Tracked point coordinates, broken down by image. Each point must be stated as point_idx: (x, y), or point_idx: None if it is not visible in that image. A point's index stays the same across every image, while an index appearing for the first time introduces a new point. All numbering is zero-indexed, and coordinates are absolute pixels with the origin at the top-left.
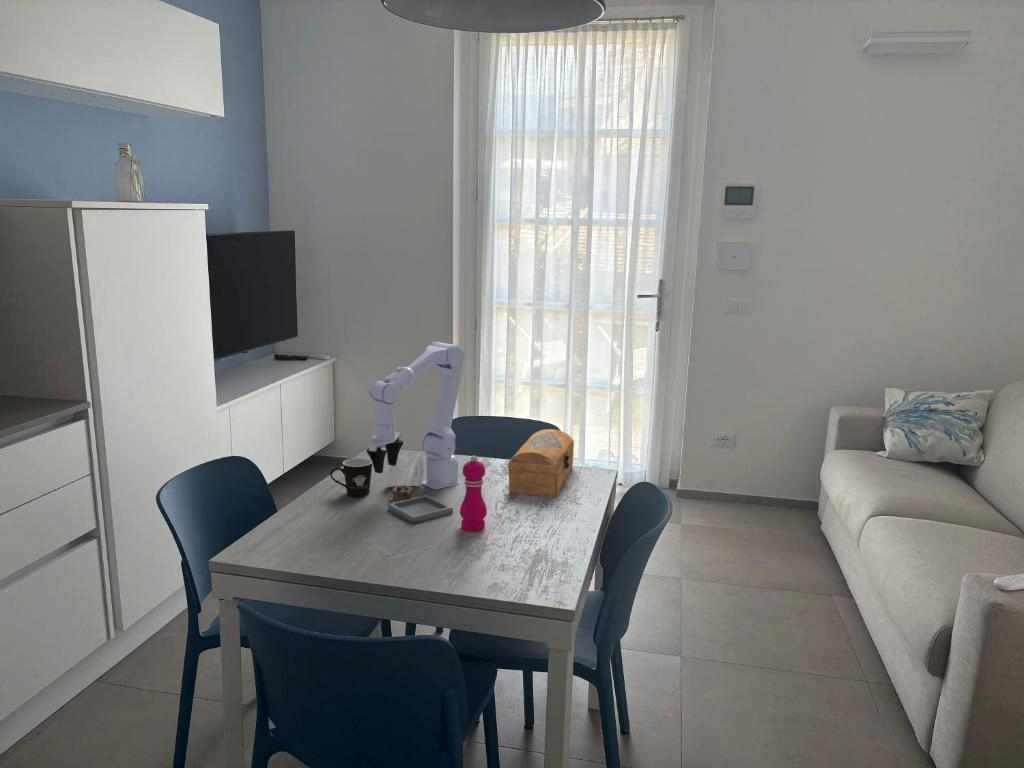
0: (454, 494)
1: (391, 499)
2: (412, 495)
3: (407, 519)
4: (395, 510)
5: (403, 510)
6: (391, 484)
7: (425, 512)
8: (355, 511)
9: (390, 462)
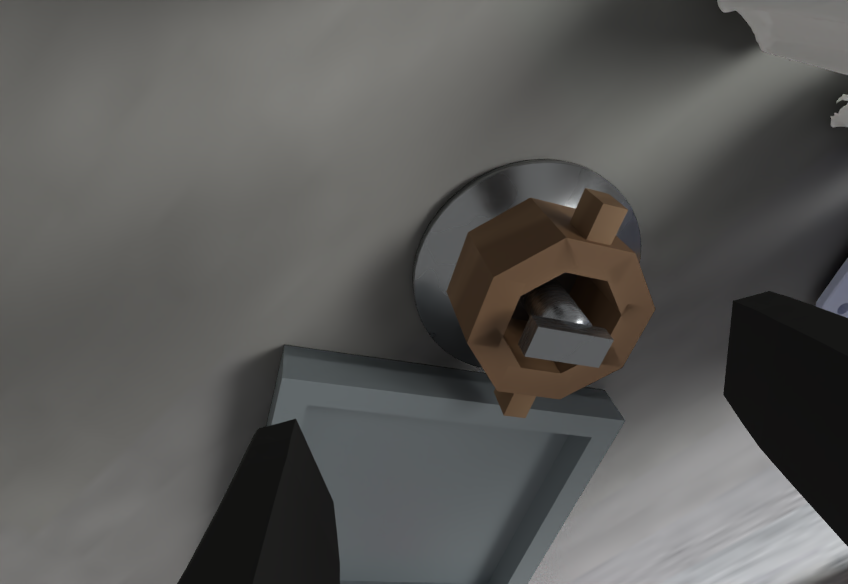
0: None
1: (465, 222)
2: None
3: None
4: None
5: None
6: (747, 9)
7: (394, 541)
8: (18, 168)
9: (763, 363)
